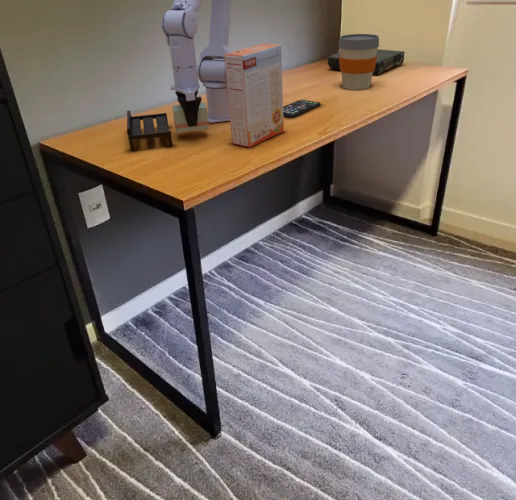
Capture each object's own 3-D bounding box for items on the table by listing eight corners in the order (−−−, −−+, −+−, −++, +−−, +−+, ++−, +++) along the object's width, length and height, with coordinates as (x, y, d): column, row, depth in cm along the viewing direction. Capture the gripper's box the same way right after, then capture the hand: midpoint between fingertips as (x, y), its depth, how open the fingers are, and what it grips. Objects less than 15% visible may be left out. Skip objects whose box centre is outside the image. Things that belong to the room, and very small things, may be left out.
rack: (168, 126, 132) (165, 106, 129) (172, 146, 118) (169, 124, 115) (130, 131, 130) (126, 110, 128) (131, 151, 117) (126, 129, 114)
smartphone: (321, 102, 143) (292, 115, 133) (321, 105, 143) (292, 117, 134) (300, 99, 147) (270, 111, 137) (300, 101, 147) (270, 114, 138)
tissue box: (206, 123, 126) (203, 99, 123) (209, 129, 122) (206, 104, 119) (175, 126, 125) (171, 102, 121) (176, 133, 121) (173, 107, 117)
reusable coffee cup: (329, 86, 162) (330, 37, 154) (355, 79, 168) (358, 32, 160) (356, 93, 153) (360, 41, 145) (383, 85, 159) (388, 36, 151)
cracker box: (266, 128, 127) (262, 42, 116) (284, 132, 124) (283, 44, 113) (230, 143, 118) (223, 52, 107) (249, 148, 115) (243, 54, 104)
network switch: (384, 76, 170) (386, 61, 167) (323, 71, 181) (324, 57, 178) (405, 63, 187) (407, 49, 184) (348, 59, 198) (349, 46, 195)
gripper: (165, 61, 121) (173, 116, 128) (169, 73, 109) (177, 133, 116) (193, 59, 122) (199, 113, 129) (201, 70, 110) (207, 129, 117)
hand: (191, 122), depth 123 cm, fingers closed on tissue box, 5 cm apart
